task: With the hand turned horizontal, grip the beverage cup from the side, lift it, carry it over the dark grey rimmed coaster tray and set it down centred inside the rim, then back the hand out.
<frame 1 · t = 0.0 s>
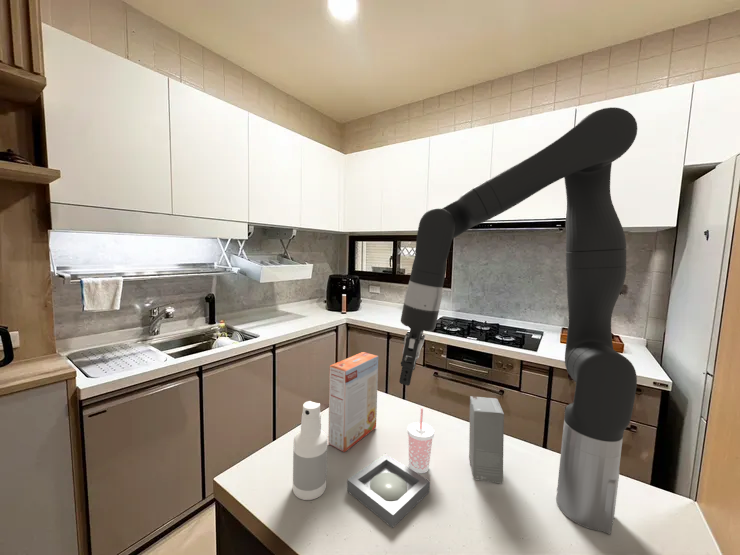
hand: (407, 376, 68), 22 cm above the counter, tool pointing down, fingers open, 8 cm apart
cracker box: (352, 436, 83), on the counter
beverage cup: (418, 466, 73), on the counter
coaster tray: (388, 491, 65), on the counter
skincare box: (482, 470, 72), on the counter
spray bottle: (309, 488, 65), on the counter
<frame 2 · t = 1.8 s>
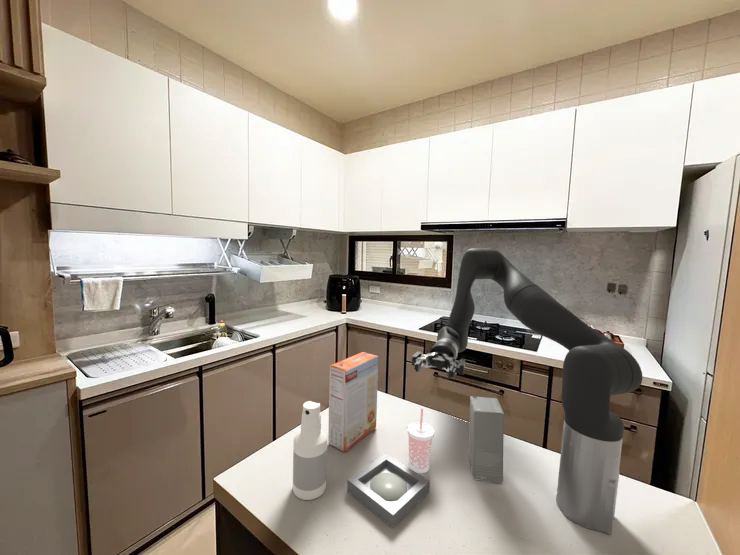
hand: (433, 371, 81), 19 cm above the counter, tool horizontal, fingers open, 8 cm apart
nothing on the counter moved.
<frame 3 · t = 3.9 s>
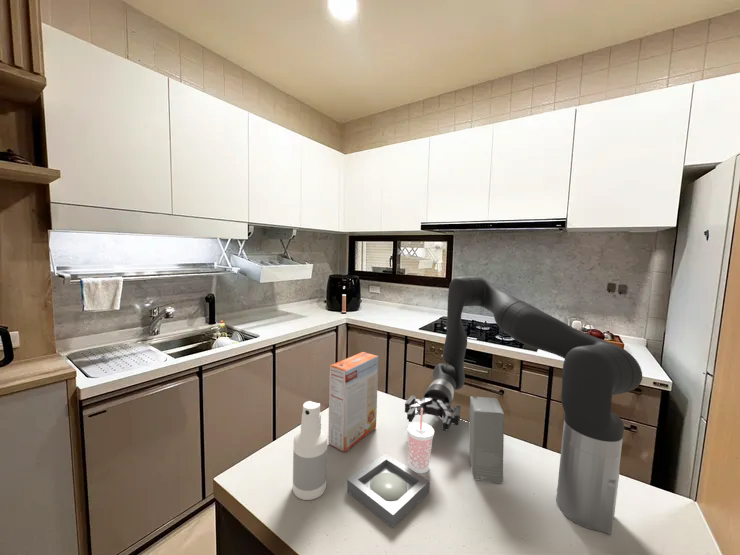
hand: (426, 422, 77), 7 cm above the counter, tool horizontal, fingers open, 8 cm apart
nothing on the counter moved.
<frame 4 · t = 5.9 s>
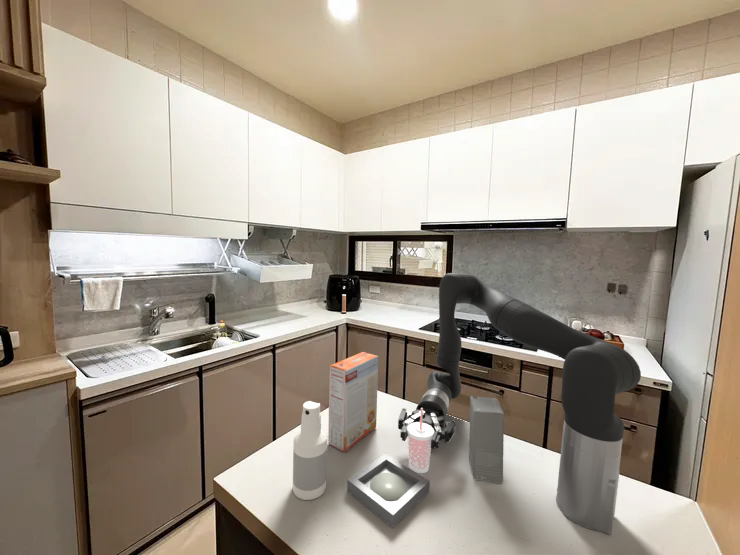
hand: (417, 441, 70), 8 cm above the counter, tool horizontal, fingers closed on beverage cup, 6 cm apart
beverage cup: (418, 466, 73), on the counter, touching gripper
everything else where it was.
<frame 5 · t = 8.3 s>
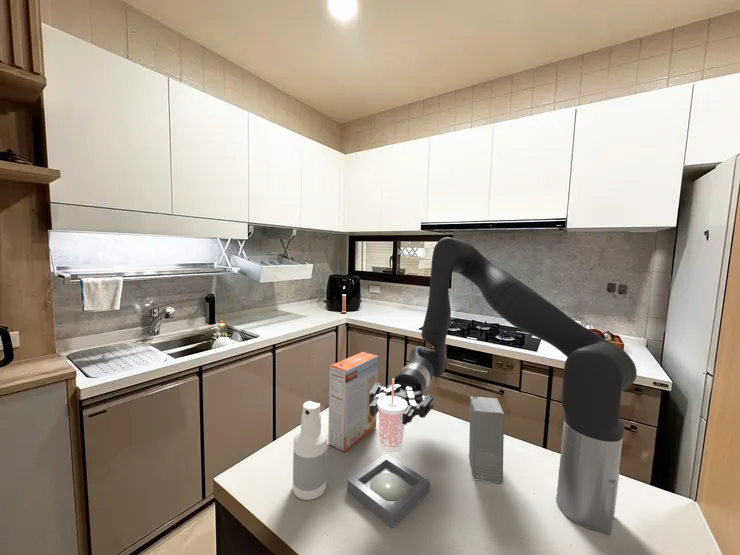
hand: (388, 415, 61), 18 cm above the counter, tool horizontal, fingers closed on beverage cup, 6 cm apart
beverage cup: (390, 445, 64), point 10 cm above the counter, touching gripper
everything else where it was.
when the fingers open (9 cm above the counter, at t = 10.7 s): beverage cup stays where it is, resting on coaster tray.
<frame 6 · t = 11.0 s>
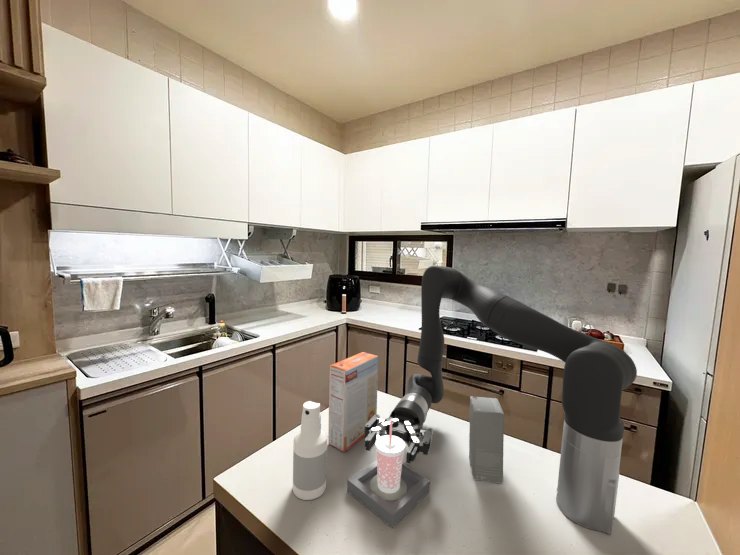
hand: (387, 452, 62), 10 cm above the counter, tool horizontal, fingers open, 8 cm apart
beverage cup: (388, 485, 65), point 1 cm above the counter, touching coaster tray
everything else where it was.
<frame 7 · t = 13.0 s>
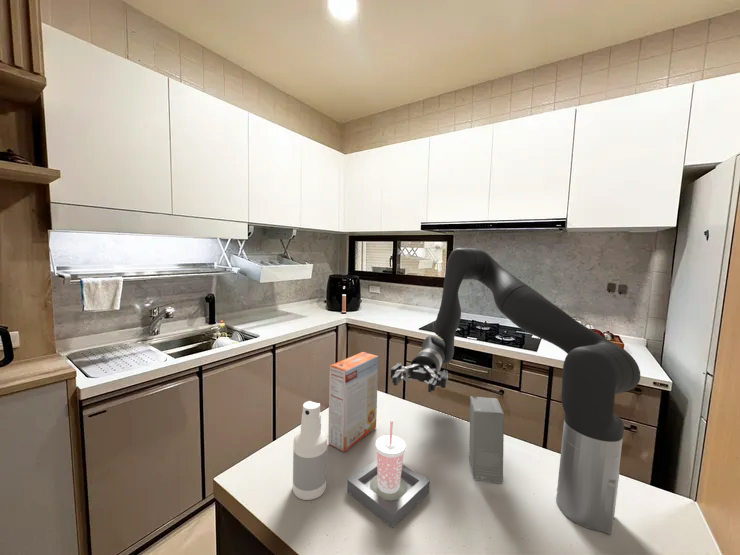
hand: (412, 384, 75), 18 cm above the counter, tool horizontal, fingers open, 8 cm apart
nothing on the counter moved.
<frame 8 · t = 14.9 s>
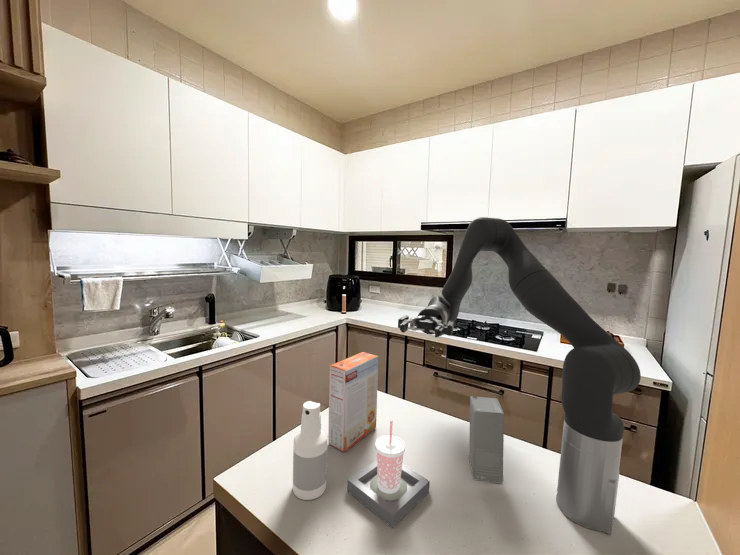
hand: (419, 330, 77), 30 cm above the counter, tool horizontal, fingers open, 8 cm apart
nothing on the counter moved.
at the end: beverage cup 0.1 cm off-centre on the coaster tray, point 1.1 cm above the coaster tray's base; beverage cup tilted 0°; the gripper is holding nothing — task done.
